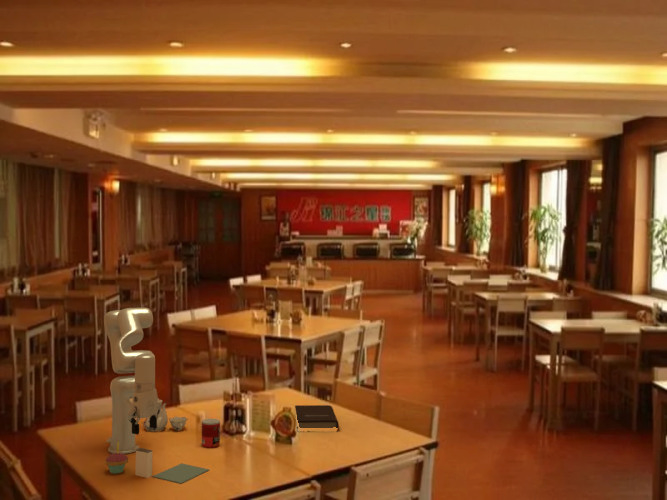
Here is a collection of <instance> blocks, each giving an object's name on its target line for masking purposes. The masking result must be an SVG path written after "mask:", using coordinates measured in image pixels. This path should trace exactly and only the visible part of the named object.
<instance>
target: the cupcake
mask: <svg viewBox="0 0 667 500" xmlns="http://www.w3.org/2000/svg"><path fill="white" fill-rule="evenodd" d="M127 463H129V457H128V456H127V455H126V454H122V453H119V440H118V442H117V453H114V454H113V453H110V454H109V455H107V457H106V459H105V463H104V464H105V465H106V466H107V467H108V469H109V470H108V471H109V472H110V474H115V475H116V474H121V473H123V471H124V469H125V466H126V464H127Z"/></svg>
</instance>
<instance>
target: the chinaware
mask: <svg viewBox="0 0 667 500" xmlns="http://www.w3.org/2000/svg"><path fill="white" fill-rule="evenodd" d="M158 404H160V405H161V408H160V412H159V414H158V418H157V428H150V417H151V416H149V417H146V418H144V419H145V420H144V421H143V422H142V423H143V425H142V426H144V428H145V430H146V431H147V432H151V433H157V432H162V431H165V427H166V426H167V425H168V422H170V426H171V427H172V428H173V429H174V431H176V432H178V431H179V432H180V431H182V429H183V428H184V427H185V425H186V423H187V421H188V420H189V419H188V418H187V417H186V416H182V417H180V416H174V417H171V418H168V415H167V410H166V405H167V403H166V402H164V403H163V400H162V399H160V398H159V397H158Z"/></svg>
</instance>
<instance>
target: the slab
mask: <svg viewBox="0 0 667 500" xmlns="http://www.w3.org/2000/svg"><path fill="white" fill-rule="evenodd" d="M135 476H137V477H142V478H145V479H149V478H151V477H153V450H152V449H148V448H143V447H139V449H136V451H135Z"/></svg>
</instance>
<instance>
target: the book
mask: <svg viewBox="0 0 667 500" xmlns="http://www.w3.org/2000/svg"><path fill="white" fill-rule="evenodd" d="M294 408H295V415H297V420H298V423H299V427H300V428H333V427H336V428H338V429H339V421H338V419H337V416H336V414H335V411H334V408H333V406H332V405H330V404H328V405H323V404H321V405H319V404H318V405H317V404H316V405H315V404H314V405H311V404H310V405H309V404H306V405H305V404H304V405H302V404H301V405H298V404H296V405H294Z"/></svg>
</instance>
